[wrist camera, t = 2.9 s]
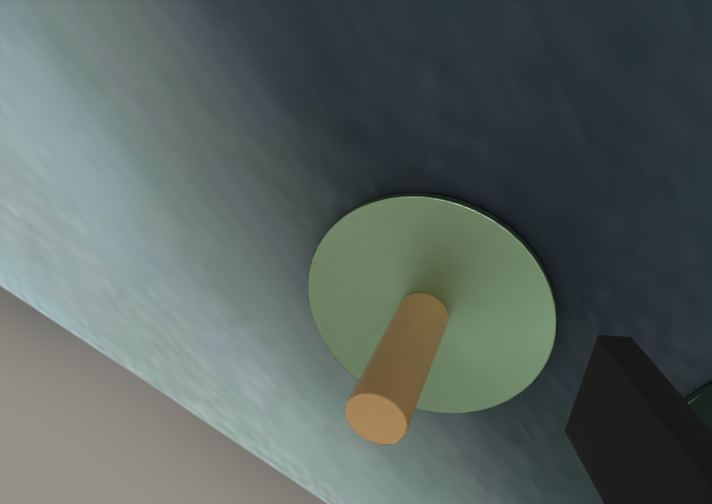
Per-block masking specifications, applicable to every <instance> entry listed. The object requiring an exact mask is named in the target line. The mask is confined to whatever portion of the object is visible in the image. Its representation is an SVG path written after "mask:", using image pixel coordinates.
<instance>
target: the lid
mask: <svg viewBox="0 0 712 504" xmlns="http://www.w3.org/2000/svg"><path fill="white" fill-rule="evenodd" d="M308 296H309V303H310V308H311V312H312V316H313V319H314V322H315V325H316V327H317V329H318V331H319V333H320V336H321V337H322V339H323V341H324V342H325V344H326V346H327V347H328V349H329V350H330V351H331V353H332V354H333V355H334V357H335V358H336V359H337V360H338V362H339V363H340V364H341V365H342V366H343V367H344V368H345V369H346V370H347V371H348V372H349V373H350V374H352V375H353V376H354V377H355V378H356V379H357V380H359V381H358V383H357V385H356V386H355V388H354V390H353V392H352V394H351V396H350V398H349V399H348V401H347V403H346V406H345V416H346V420H347V422H348V424H349V425H350V427H351V428H352V429H353V430H354V431H355V432H356V433H357V434H358V435H359V436H361V437H362V438H364V439H366V440H368V441H370V442H373V443H376V444H383V445H387V444H393V443H396V442H398V441H399V440H401V439H402V438H403V437H404V436H405V434H406V432H407V429H408V426H409V424H410V421H411V419H412V416H413V413H414V411H415V408H416V409H420V410H424V411H431V412H437V413H468V412H474V411H480V410H484V409H487V408H491V407H494V406H497V405H499V404H501V403H504V402H506V401H508V400H510V399H511V398H513V397H515V396H516V395H518V394H519V393H521V392H522V391H523V390H524V389H526V388H527V387H528V386H529V385H530V384H531V383H532V382H533V381H534V380H535V379H536V378H537V377H538V375H539V374H540V373H541V371H542V370H543V368H544V367H545V365H546V363H547V362H548V360H549V357H550V354H551V352H552V349H553V346H554V342H555V337H556V331H557V307H556V299H555V295H554V292H553V288H552V285H551V282H550V280H549V277H548V275H547V273H546V271H545V269H544V267H543V265H542V264H541V262H540V260H539V259H538V257H537V256H536V254H535V253H534V251H533V250H532V249H531V248H530V247H529V246H528V244H527V243H526V242H525V241H524V240H523V239H522V238H521V237H520V236H519V235H518V234H517V233H516V232H515V231H514V230H513V229H512V228H510V227H509V226H508V225H506V224H505V223H504V222H502V221H501V220H499V219H498V218H497V217H495V216H494V215H492V214H490V213H488V212H486V211H484V210H483V209H481V208H479V207H477V206H474V205H472V204H469V203H467V202H464V201H462V200H458V199H455V198H451V197H447V196H443V195H436V194H429V193H401V194H392V195H388V196H384V197H380V198H376V199H373V200H371V201H368V202H366V203H364V204H361V205H359V206H358V207H356V208H354V209H353V210H351V211H349V212H348V213H347V214H345V215H344V216H343V217H342V218H341V219H339V220H338V221H337V222H336V223H335V224H334V225H333V226H332V228H331V229H330V230H329V231H328V232H327V233H326V234H325V236H324V237H323V239H322V240H321V242H320V244H319V245H318V247H317V249H316V252H315V254H314V256H313V259H312V263H311V267H310V270H309V279H308Z"/></svg>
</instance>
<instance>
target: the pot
mask: <svg viewBox="0 0 712 504" xmlns="http://www.w3.org/2000/svg"><path fill="white" fill-rule="evenodd" d="M686 402H687V403H688V404H689V405H690V406H691V407H692V409H693V410H694V411H695V412H696V413H697V414H698V416H699V417H700V418H701V419H702V420H703V421H704V423H705V424H706V425H707V426H708V427H709V428H710V430H711V431H712V383H710V384H708V385H706V386H704V387H702V388H701V389H699V390H698V391H696V392H695V393H693V394H692V395H690V396H689V397H688V398H687V399H686Z"/></svg>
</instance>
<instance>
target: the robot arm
mask: <svg viewBox="0 0 712 504" xmlns="http://www.w3.org/2000/svg"><path fill="white" fill-rule="evenodd" d="M565 432H566V434H567V436H568V438H569V439H570V441H571V443H572V445H573V447H574V449H575V451H576V452H577V454H578V456H579V458H580V460H581V462H582V463H583V465H584V467H585V469H586V471H587V473H588V475H589V476H590V478H591V480H592V482H593V484H594V486H595V487H596V489H597V491H598V493H599V495H600V497H601V499H602V500H603V502H604V504H712V431H711V430H710V428H709V427H708V426H707V425H706V424H705V423H704V421H703V420H702V419H701V418H700V417H699V416H698V414H697V413H696V412H695V411H694V410H693V409H692V407H691V406H690V405H689V404H688V403H687V402H686V400H685V399H684V398H683V397H682V396H681V395H680V393H679V392H678V391H677V390H676V389H675V388H674V387H673V385H672V384H671V383H670V382H669V381H668V380H667V378H666V377H665V376H664V375H663V374H662V373H661V371H660V370H659V369H658V368H657V367H656V366H655V364H654V363H653V362H652V361H651V360H650V359H649V357H648V356H647V355H646V354H645V353H644V352H643V350H642V349H641V348H640V347H639V346H638V345H637V343H636V342H635V341H634V340H633V339H632V338H631V337H619V336H601V335H598V337H597V340H596V343H595V346H594V349H593V352H592V354H591V357H590V360H589V363H588V366H587V369H586V372H585V375H584V377H583V380H582V383H581V386H580V389H579V392H578V395H577V398H576V400H575V403H574V406H573V409H572V412H571V415H570V418H569V421H568V423H567V426H566V429H565Z"/></svg>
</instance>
